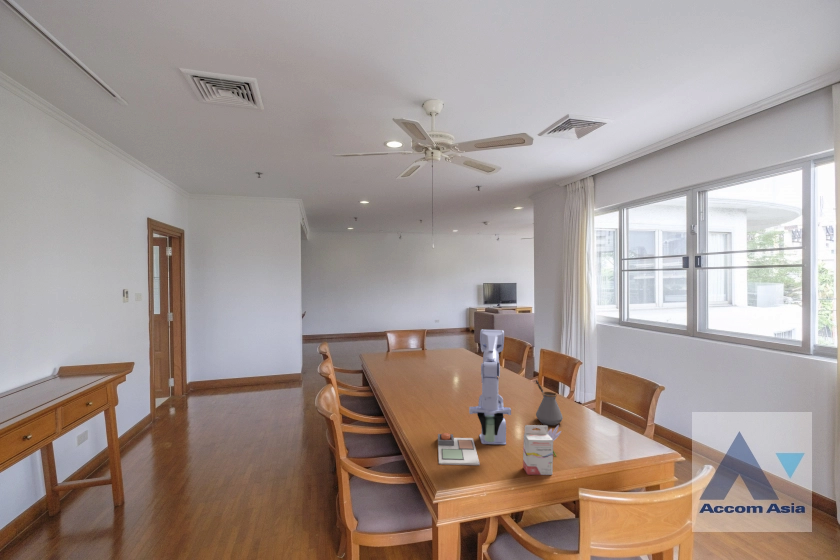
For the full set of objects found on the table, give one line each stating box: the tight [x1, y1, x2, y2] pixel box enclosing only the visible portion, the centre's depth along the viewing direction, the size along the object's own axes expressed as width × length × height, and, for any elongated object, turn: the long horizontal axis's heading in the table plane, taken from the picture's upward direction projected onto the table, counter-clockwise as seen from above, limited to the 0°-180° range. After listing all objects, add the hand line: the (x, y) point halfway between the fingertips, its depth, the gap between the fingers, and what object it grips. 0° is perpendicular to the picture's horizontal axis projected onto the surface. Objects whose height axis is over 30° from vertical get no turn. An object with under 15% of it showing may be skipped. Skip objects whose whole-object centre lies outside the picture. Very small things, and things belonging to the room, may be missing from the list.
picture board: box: [437, 433, 481, 466], centre depth 136 cm, size 14×20×2 cm
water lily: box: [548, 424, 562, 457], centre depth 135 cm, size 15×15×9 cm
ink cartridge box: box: [522, 424, 554, 476], centre depth 122 cm, size 9×5×15 cm, turn 92°
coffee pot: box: [534, 379, 564, 426], centre depth 170 cm, size 21×12×15 cm, turn 5°
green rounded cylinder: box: [485, 415, 495, 442], centre depth 130 cm, size 4×4×8 cm
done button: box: [440, 432, 450, 440], centre depth 142 cm, size 4×4×2 cm
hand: (489, 434), depth 130 cm, fingers closed on green rounded cylinder, 4 cm apart
